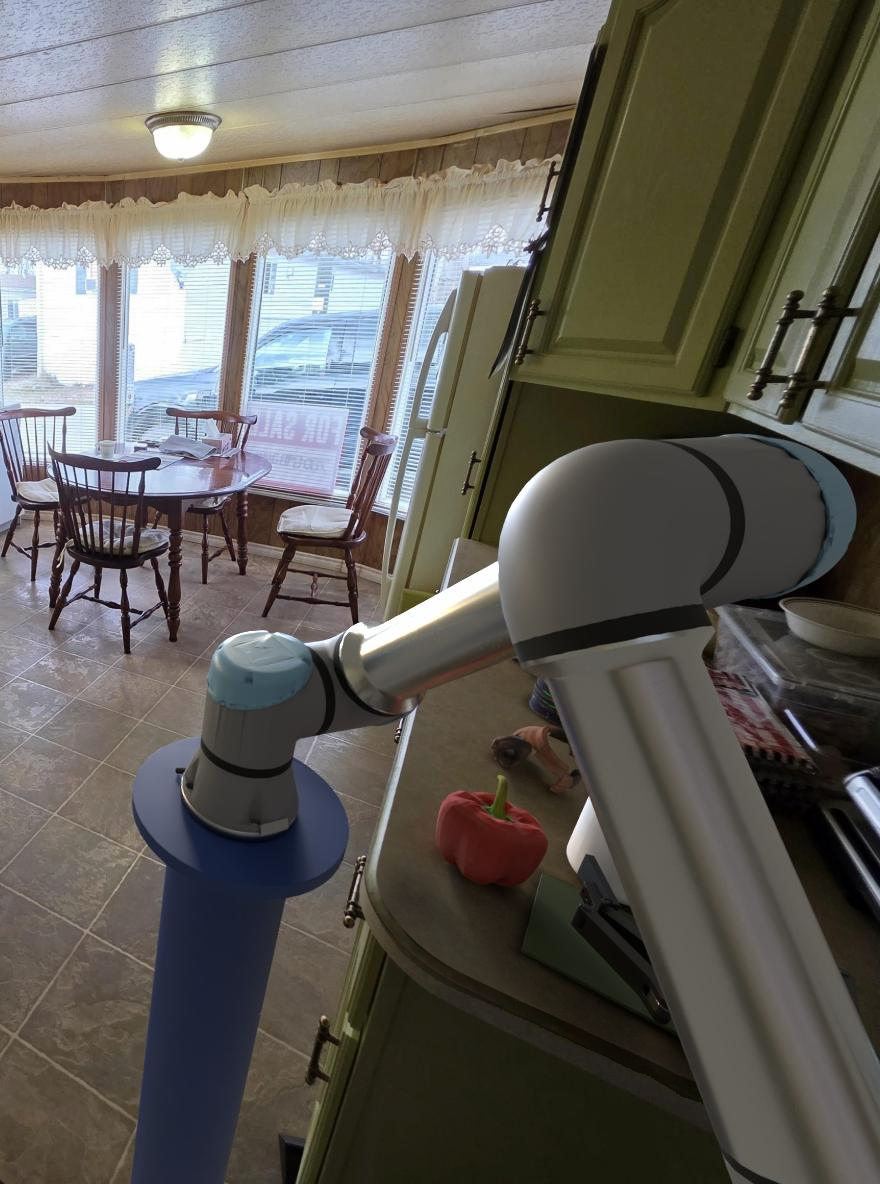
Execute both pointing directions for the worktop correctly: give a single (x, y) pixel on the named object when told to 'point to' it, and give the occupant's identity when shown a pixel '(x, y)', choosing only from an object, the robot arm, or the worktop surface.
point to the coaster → (575, 947)
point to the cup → (594, 849)
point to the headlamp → (537, 753)
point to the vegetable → (490, 837)
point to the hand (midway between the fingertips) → (663, 882)
